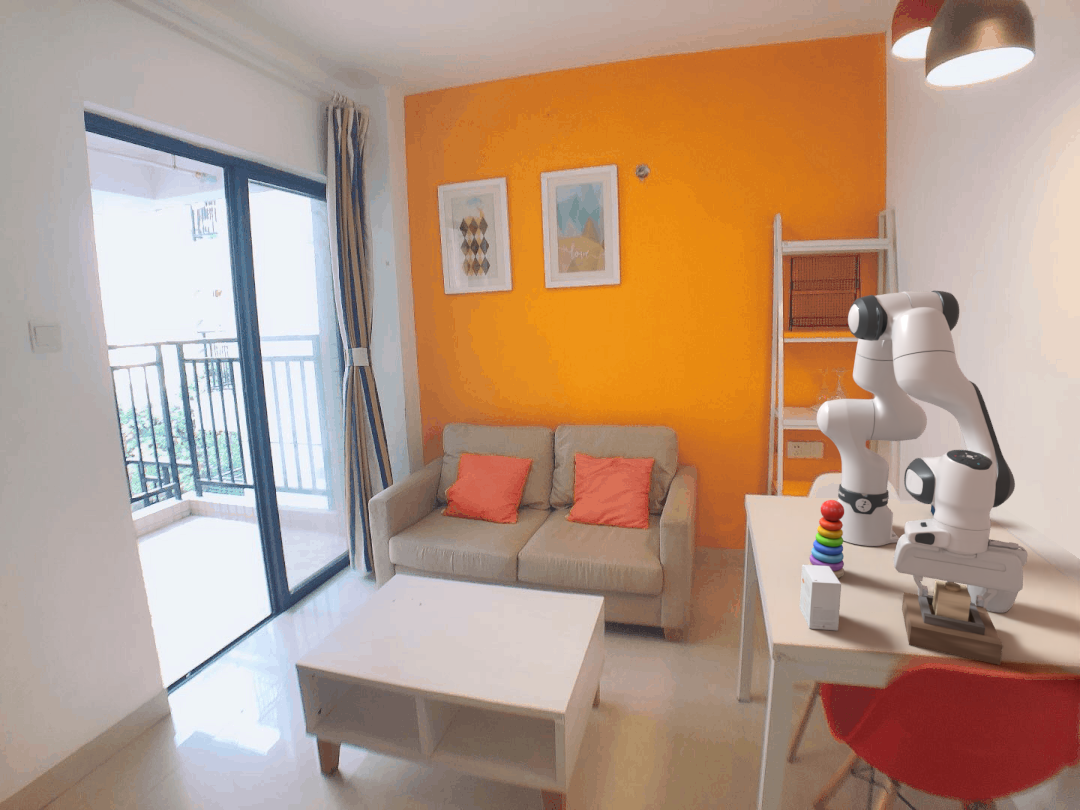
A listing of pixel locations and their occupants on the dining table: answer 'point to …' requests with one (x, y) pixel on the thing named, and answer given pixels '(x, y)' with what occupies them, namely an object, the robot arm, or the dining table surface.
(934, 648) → the base block
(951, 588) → the maple brick
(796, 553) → the dining table surface
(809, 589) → the small box
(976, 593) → the mug
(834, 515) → the stacking toy
